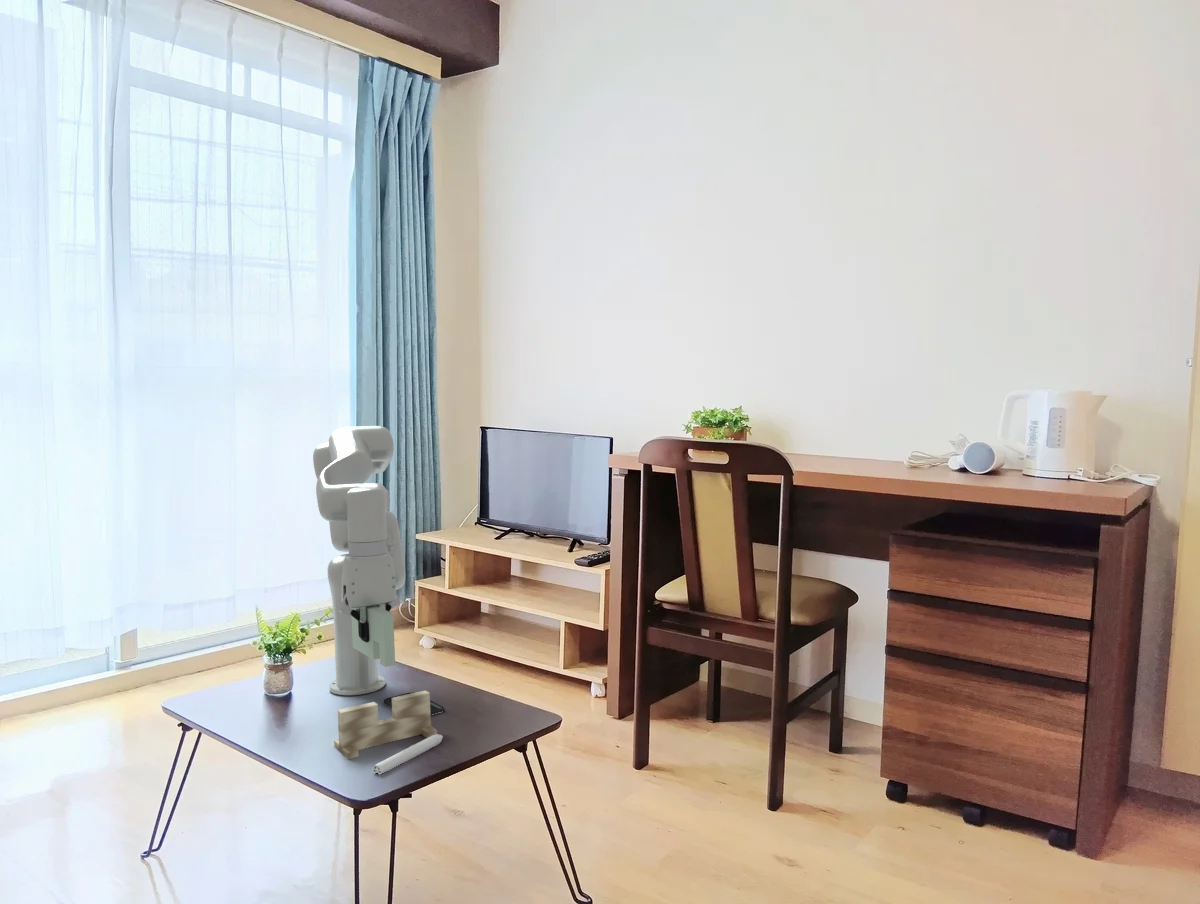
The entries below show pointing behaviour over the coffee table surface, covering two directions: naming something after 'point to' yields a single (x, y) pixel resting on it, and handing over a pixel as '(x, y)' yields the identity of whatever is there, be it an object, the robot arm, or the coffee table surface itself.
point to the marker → (407, 754)
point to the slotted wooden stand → (383, 723)
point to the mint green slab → (376, 636)
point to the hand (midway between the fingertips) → (371, 638)
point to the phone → (433, 706)
